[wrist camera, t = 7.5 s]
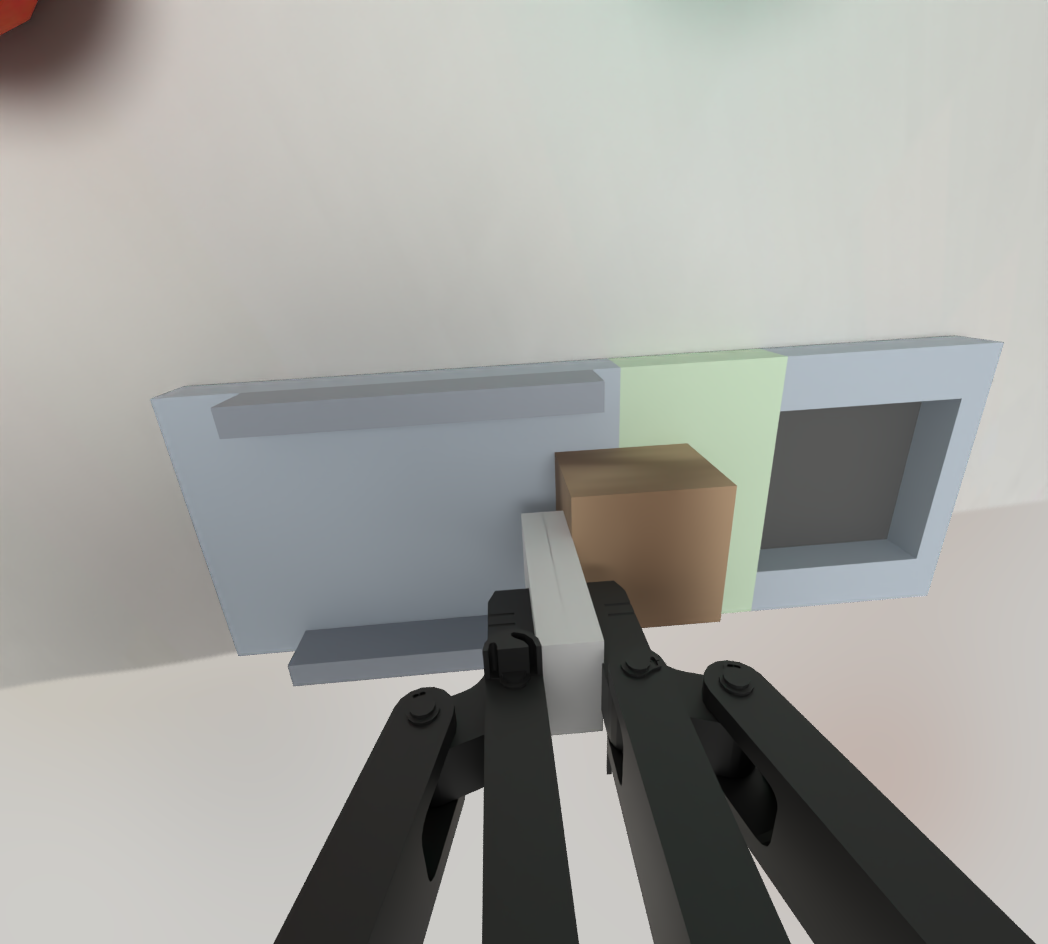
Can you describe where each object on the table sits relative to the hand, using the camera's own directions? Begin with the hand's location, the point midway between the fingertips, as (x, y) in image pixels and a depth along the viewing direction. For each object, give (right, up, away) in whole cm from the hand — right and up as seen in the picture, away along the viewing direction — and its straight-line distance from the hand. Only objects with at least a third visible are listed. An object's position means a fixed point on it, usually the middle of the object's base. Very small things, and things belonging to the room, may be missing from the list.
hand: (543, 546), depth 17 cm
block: (+3, +1, +2) cm, 4 cm away
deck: (+2, +2, +4) cm, 5 cm away
